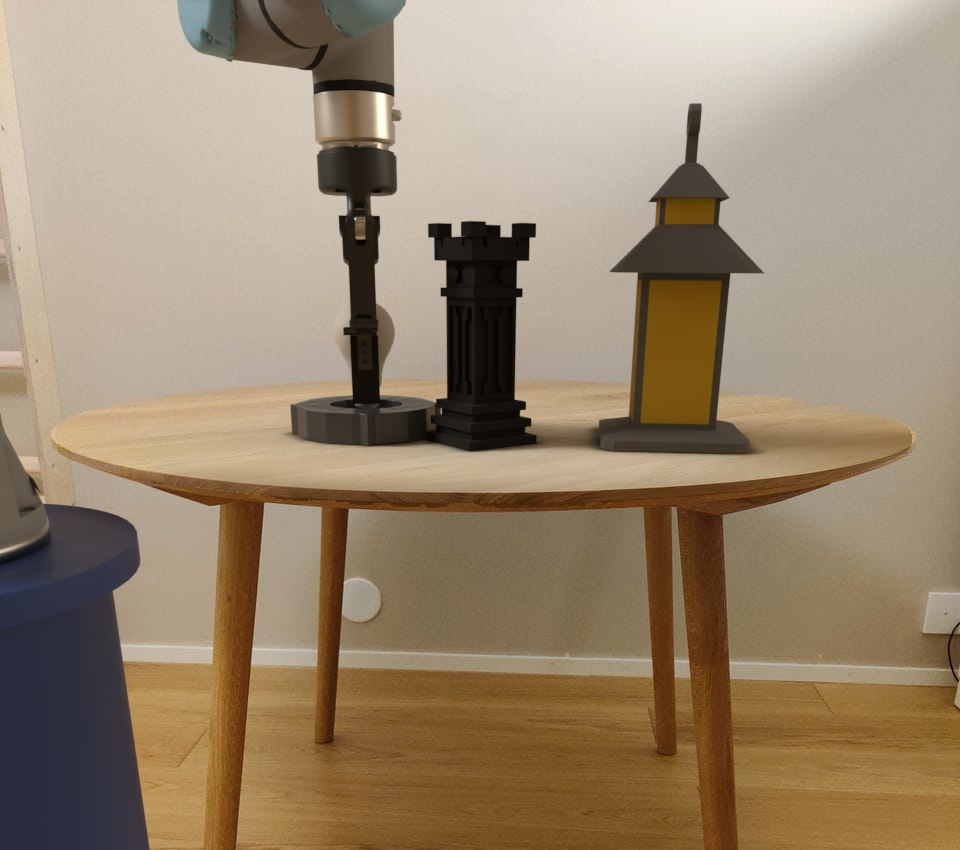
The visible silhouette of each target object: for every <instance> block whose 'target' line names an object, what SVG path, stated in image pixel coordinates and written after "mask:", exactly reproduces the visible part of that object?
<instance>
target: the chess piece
mask: <svg viewBox="0 0 960 850" xmlns="http://www.w3.org/2000/svg"><path fill="white" fill-rule="evenodd" d="M501 228H502V227H501V224H487V221H481V220H480V221H478V220H466V221H460V236H453V223H449V222H448V223H445V222H433V223H431V222H430V223H427V238H429V239H430V238H433V254H434V255H433V256H434V257H433V259H434V261H435V262H436V261H437V262H438V261H439V262H441V261H445V287H440V288H439V289H440V297H443V298H446V299H445V300H446V301H445V302H446V303H445V304H446V311H445V313H446V318H445V319H446V397H444V398H443V397H441V398H435V402H436V407H438V408H441V414H437V415H431V423H432V424H436V430H430V431H426V438H425V440H428V441H432V442H435V443H439V444H442V445H447V446H449V447H453V448H458V449H461V450H464V451H467V452H472V451H481V450H482V451H483V450H489V449H498V448H499V449H500V448H505V447H507V448H508V447H515V446H524V445H531V444H537V443H538V442H537V440H538V439H537V437H538V436H537V435H538V434H536V433H530V432H527V431H526V428H531V427H532V417H528V416H523V415H521V411H526V410H527V401H526V400H520V399H516V356H517V355H516V353H517V352H516V350H517V349H516V348H517V346H516V345H517V343H516V342H517V298H523V293H524V290H523V288H522V287H518V262H529V261H530V248H531V247H530V246H531V244H530V240H531V239H534V238H537V223H536V222H513V223H511V236H502V235H501V231H502V229H501Z"/></svg>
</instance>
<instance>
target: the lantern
mask: <svg viewBox="0 0 960 850" xmlns="http://www.w3.org/2000/svg"><path fill="white" fill-rule="evenodd" d="M702 111H703V105H702V103H701V102H700V103H698V102H697V103H696V102H695V103H692V102H691V103H689V105H688V109H687V118H686V143H685V153H684V154H685V155H684V163H682V164H680V165H679V166H678V167H677V168H676V169H675V170H674V171H673V172H672V174H671V175H670V176H669V177H668V178H667V180H666V181H665V182H664V183H663V184H662V185H661V187H659V189H658V190H657V191H656V192H655V193H654V194H653V196H652V197H651V198H650V199H649V200H648V203H656V204H655V221H654V227H653V228H652V229H651V230H650V231H649V232H647V234H646V235H645V236H644V237H642V238H641V239H640V241H638V242H637V244H636V245H635V246H634V247H633V248H631V250H630V251H629V252H627V253H626V255H624V257H622V258H621V259H620V260H619V261H618V262H617V263H616V264H615V265H614V266H613V267H612V268H611V269H610V270H609V273H617V274H618V273H619V274H620V273H621V274H623V273H625V274H626V273H627V274H628V273H629V274H631V273H632V274H634V273H637V279H636V293H635V310H634V327H633V343H632V361H631V376H630V390H629V391H630V392H629V405H628V408H629V409H628V416H621V417H611V418H601V419H599V420H598V437H599V446H600V449H602V450H604V451H612V452H642V453H643V452H647V453H648V452H650V453H686V454H687V453H689V454H690V453H691V454H692V453H693V454H729V455H730V454H732V455H733V454H734V455H739V454H748V453H749V452H750V443H751V441H750V440H749V439H748V438H747V437H746V436H745V435H744V434H743V433H742V432H741V430H739V428H738V427H737V426H736V425H735V424H734V423H732V422H729V421H726V420H719V419H718V409H719V398H720V387H721V379H722V378H721V377H722V369H723V368H722V366H723V357H724V345H725V335H726V326H727V325H726V324H727V314H728V304H729V293H730V285H731V284H730V283H731V274H765V272H764V271H763V270H762V269H761V268H760V266H758V264H757V263H756V262H755V261H754V260H753V259H752V258H751V257H750V256H749V255H748V254H747V252H745V251H744V250H743V249H742V247H740V245H739V244H738V243H737V242H736V241H735V240H734V239H733V238H732V237H731V236H730V235H729V234H728V232H726V231H725V230H724V229H723V228H722V226H720V224H719V222H720V212H721V203H722V202H724V201H726V200H728V199H730V196H729V195H728V193H727V192H726V191H725V190H724V189H723V187H721V185H720V184H719V183H718V182H717V180H716V179H715V178H714V177H713V176H712V174H711V173H710V172H709V171H708V170H707V168H705V165H702V164H700V163H699V162H698V150H699V140H700V139H699V137H700V132H701V125H702V124H701V123H702Z"/></svg>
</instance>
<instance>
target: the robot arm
mask: <svg viewBox="0 0 960 850" xmlns="http://www.w3.org/2000/svg"><path fill="white" fill-rule="evenodd" d="M406 2H407V0H176V4H177V12H178V20H179V23H180V27H181V30H182V32H183V35H184V37H185V39H186V41H187V43H188V44H189V46H190V47H191V48H193V50H195V51H196V52H198V53H200V54H202V55H207V56H212V57H216V58H219V59H222V60H225V61H227V62H229V63H232V62H233V61H236V62H237V61H238V62H244V63H252V64H260V65H268V66H273V67H275V66H276V67H283V68H290V69H291V68H292V69H297V70H299V71H311V77H312V87H313V88H312V89H313V90H312V91H313V95H312V101H313V102H312V103H313V121H314V139H315V140H314V141H315V142H316V143H317V144H318V145H319V146H322V148H321V149H320V150H319V151H318V153H317V154H316V165H317V168H316V169H317V185H318V186H317V187H318V190H319V193H321V194H323V195H326V196H333V197H346V215H345V214H344V215H341V214H340V215H339V214H338V231H339V235H340V237H341V241H342V242H341V244H342V261H343V263H344V264H345V265H347V267H348V283H349V304H350V311H351V319H350V320H349V324H350V327H343V332H344V335H350V347H351V370H352V385H351V391H352V395H353V404H380V395H381V389H380V388H381V386H380V384H379V354H378V335H377V331H378V320H377V316H376V303H377V294H376V293H377V289H376V288H377V287H376V265H377V264H378V263H379V261H380V260H379V259H380V258H379V257H380V253H379V252H380V251H379V237H380V235H381V216H380V215H373V214H372V203H371V201H372V199H371V197H387V196H388V197H390V196H393V195H395V194H396V193H397V191H398V166H397V165H398V163H397V161H398V160H397V155H396V154H395V152H394V151H391V150H390V147H393V146H394V145H395V144H396V125H395V123H394V122H401V120H402V119H403V114H402V113H403V112H402V111H401V110H400V109H395V108H394V106H395V23H394V22H395V19H396V18H397V17H398V15H400V13H401V12H402V11H403V8H404V7H405V6H406ZM39 494H42V492H41V490H40V489H39V487H38V485H37V483H36V481H35V479H34V478H33V477H32V476H31V475H30V474H29V473H28V472H27V471H26V468H25V467H24V465H23V463H22V461H21V460H20V457H19V456H18V454H17V452H16V450H15V448H14V446H13V445H12V442H11V440H10V439H9V437H8V434H7V433H6V430H5V427H4V425H3V419H2V414H1V413H0V565H3V564H6V563H10V562H13V561H16V560H18V559H21V558H24V557H26V556H29V555H31V554H33V553H35V552H37V551H38V550H40V549H42V548H43V547H44V546H46V545H47V544H48V543H49V541H50V539H51V533H50V526H49V520H48V517H47V516H46V510H45V507H44V505H43V504H44V503H43V501H42V499H41V497H40V495H39Z"/></svg>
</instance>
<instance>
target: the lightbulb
mask: <svg viewBox="0 0 960 850" xmlns="http://www.w3.org/2000/svg"><path fill="white" fill-rule="evenodd" d="M376 316H377V320H378V331H377V335H378V354H379V384H380V387H381V386H382V381H383V371H384V367H385V363H386V360H387V358H388V356H389V354H390V352H391V349H392V347H393V345H394V342H395V336H396V333H395V331H396V330H395V329H396V328H395V325H394V322H393V319H392V317H391V316H390V314H389V312H388V311H387V310H386V308H384V307H382V306H381V305H380V304H378V303H377V302H376ZM350 319H351V311H350V303H348V304H347V305H345V306H344V307H343V308H342V309H341V310H340V312H339V313H338V314H337V317H336V318H335V321H334V325H333V336H334V341H335V344H336V345H337V348H338V350H339V351H340V354H341V356H342V358H343V359H344V361H345V363H346V366H347V368H348V373H349V378H350V385H351V386H352V370H351V347H350V335H344V332H343V327H350V324H349V320H350ZM355 405H356V406H357V407H358V408H361V409H374V408H376V407H378V406H379V404H355Z"/></svg>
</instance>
